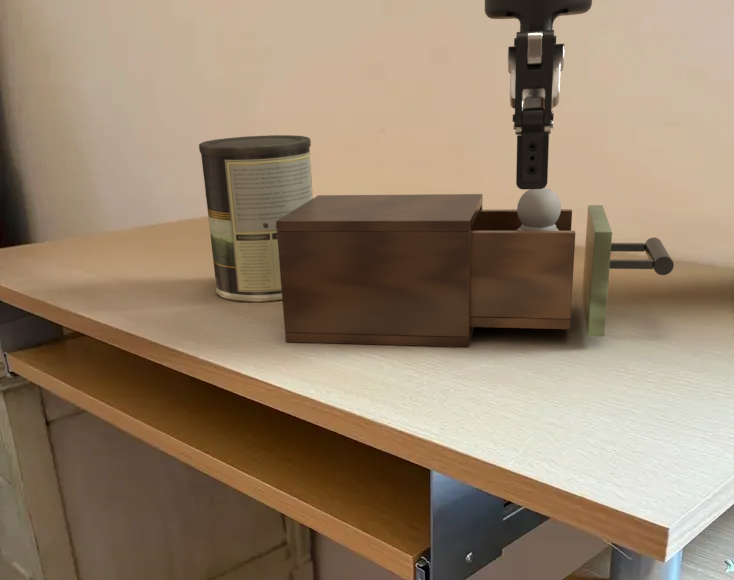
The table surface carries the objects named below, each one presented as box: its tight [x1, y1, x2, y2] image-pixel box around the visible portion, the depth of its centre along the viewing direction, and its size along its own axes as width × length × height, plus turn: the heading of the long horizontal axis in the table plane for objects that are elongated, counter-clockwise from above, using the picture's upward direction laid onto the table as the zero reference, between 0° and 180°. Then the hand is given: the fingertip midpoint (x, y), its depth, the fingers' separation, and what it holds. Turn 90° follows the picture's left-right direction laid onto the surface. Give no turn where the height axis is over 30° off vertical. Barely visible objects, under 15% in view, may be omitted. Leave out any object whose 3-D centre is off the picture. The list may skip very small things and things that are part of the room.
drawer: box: [470, 204, 675, 338], centre depth 66 cm, size 18×11×8 cm, turn 79°
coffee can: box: [198, 134, 314, 303], centre depth 79 cm, size 10×10×14 cm
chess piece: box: [516, 187, 562, 231], centre depth 66 cm, size 5×5×9 cm
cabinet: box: [276, 193, 484, 348], centre depth 69 cm, size 15×13×10 cm
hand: (532, 180), depth 64 cm, fingers open, 8 cm apart
